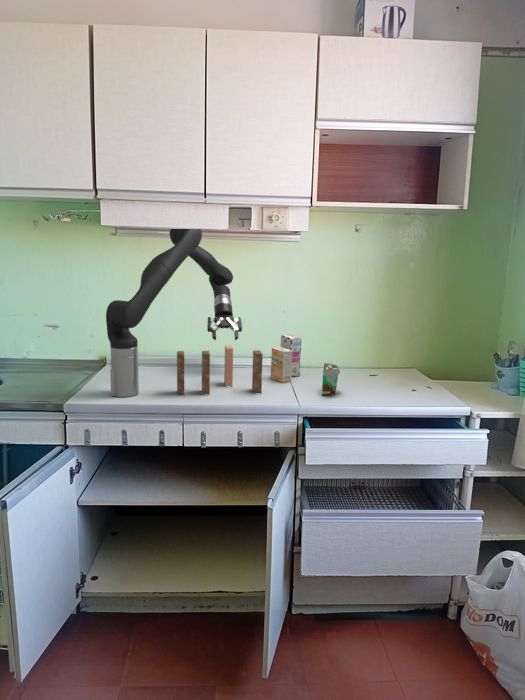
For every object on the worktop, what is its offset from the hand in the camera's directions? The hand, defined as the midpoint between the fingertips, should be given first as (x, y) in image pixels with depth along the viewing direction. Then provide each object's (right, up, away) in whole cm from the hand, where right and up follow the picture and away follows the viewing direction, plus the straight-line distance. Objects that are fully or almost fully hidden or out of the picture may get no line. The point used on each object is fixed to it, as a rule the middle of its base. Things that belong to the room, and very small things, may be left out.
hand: (225, 339), depth 199 cm
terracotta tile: (+2, -18, -8) cm, 20 cm away
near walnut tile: (-15, -20, -21) cm, 32 cm away
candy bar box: (+26, -15, +12) cm, 33 cm away
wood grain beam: (+13, -20, -16) cm, 28 cm away
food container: (+40, -21, -14) cm, 48 cm away
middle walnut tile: (-6, -20, -19) cm, 28 cm away
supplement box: (+22, -17, +1) cm, 28 cm away
